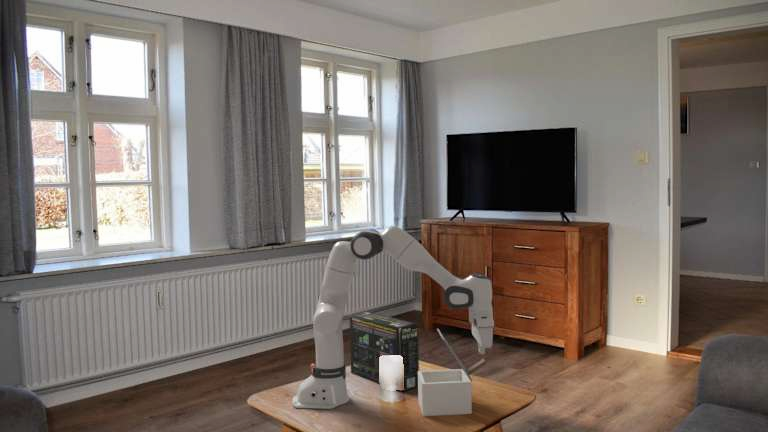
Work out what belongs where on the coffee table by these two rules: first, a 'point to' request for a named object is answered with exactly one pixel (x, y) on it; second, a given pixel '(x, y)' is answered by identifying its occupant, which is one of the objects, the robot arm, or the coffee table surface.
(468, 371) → the lid flap
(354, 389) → the coffee table surface
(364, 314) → the router box
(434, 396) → the carton
